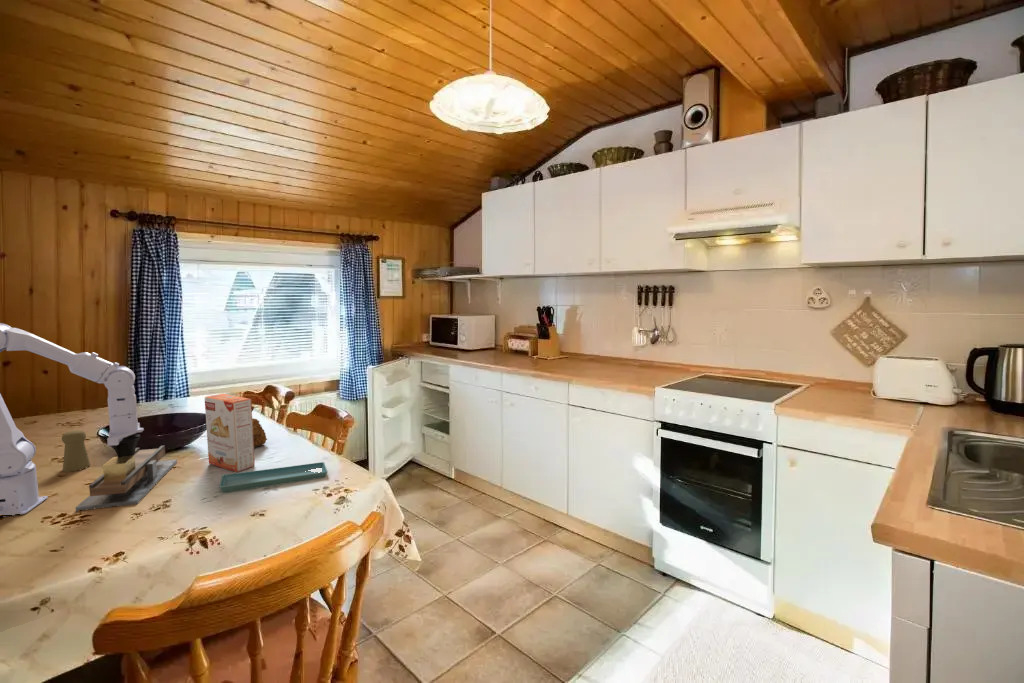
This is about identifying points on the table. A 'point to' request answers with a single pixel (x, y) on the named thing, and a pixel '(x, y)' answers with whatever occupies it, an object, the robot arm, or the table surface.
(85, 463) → the olive green shaker
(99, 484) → the walnut beam
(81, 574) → the table surface
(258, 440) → the stuffed squirrel
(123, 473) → the brass block
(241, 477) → the rectangular tray
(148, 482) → the pivot stand
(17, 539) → the table surface
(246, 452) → the cracker box
